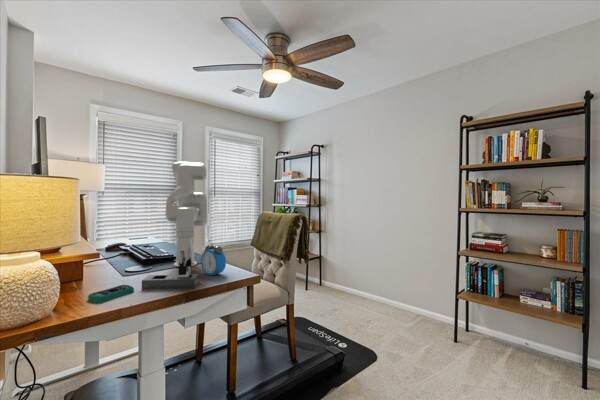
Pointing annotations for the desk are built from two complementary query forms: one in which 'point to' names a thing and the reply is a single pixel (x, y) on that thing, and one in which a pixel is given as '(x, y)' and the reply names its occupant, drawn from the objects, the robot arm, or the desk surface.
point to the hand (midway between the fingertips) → (185, 271)
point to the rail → (169, 282)
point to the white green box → (188, 273)
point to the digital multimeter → (110, 293)
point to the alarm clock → (213, 260)
